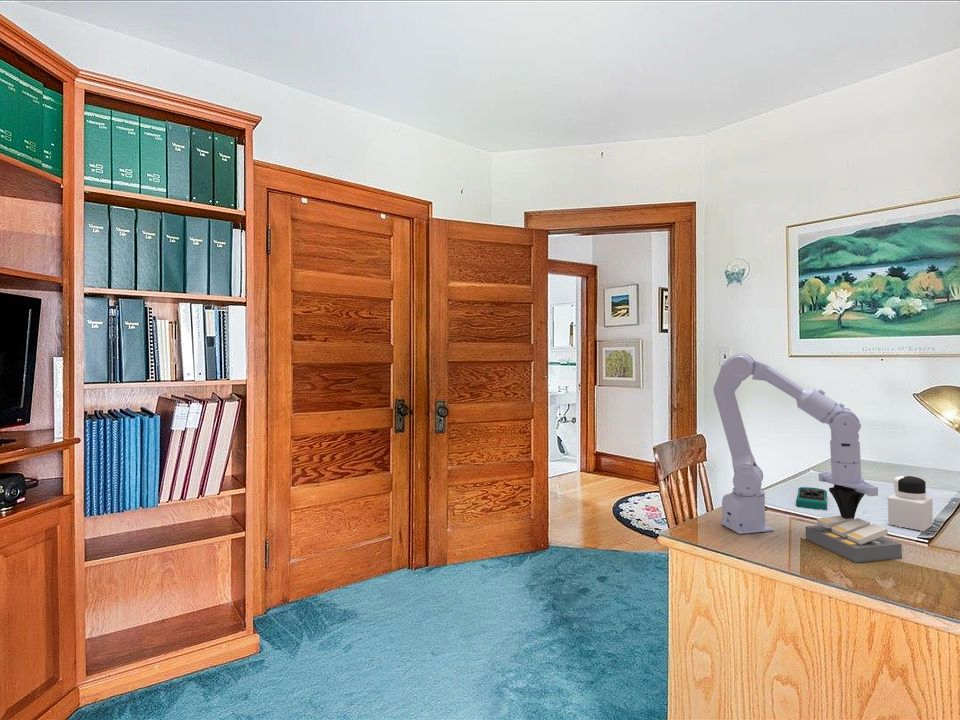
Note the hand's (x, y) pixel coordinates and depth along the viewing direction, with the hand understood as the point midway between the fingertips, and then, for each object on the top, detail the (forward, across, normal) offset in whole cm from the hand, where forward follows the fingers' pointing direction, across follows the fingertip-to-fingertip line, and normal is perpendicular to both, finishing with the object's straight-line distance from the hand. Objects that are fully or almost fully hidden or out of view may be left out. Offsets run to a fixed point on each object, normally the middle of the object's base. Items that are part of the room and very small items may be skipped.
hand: (848, 518), depth 122 cm
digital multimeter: (+6, +28, -14) cm, 31 cm away
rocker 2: (0, -4, +3) cm, 5 cm away
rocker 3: (0, -8, +3) cm, 9 cm away
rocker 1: (0, 0, +3) cm, 3 cm away
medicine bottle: (+6, +5, -22) cm, 23 cm away
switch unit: (+5, -4, +3) cm, 7 cm away
